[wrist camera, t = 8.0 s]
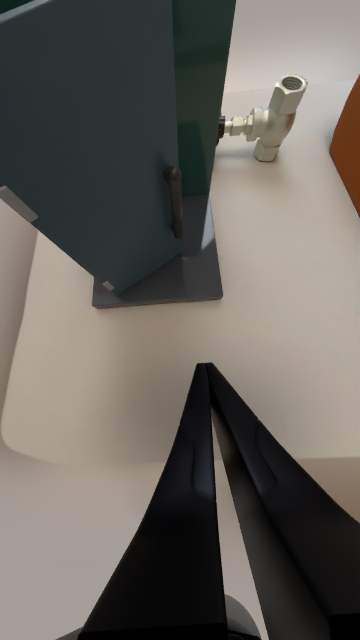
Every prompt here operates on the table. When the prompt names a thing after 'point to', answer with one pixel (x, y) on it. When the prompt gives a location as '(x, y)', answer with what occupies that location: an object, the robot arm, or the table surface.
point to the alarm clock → (349, 145)
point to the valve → (269, 118)
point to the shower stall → (187, 155)
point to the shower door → (93, 131)
